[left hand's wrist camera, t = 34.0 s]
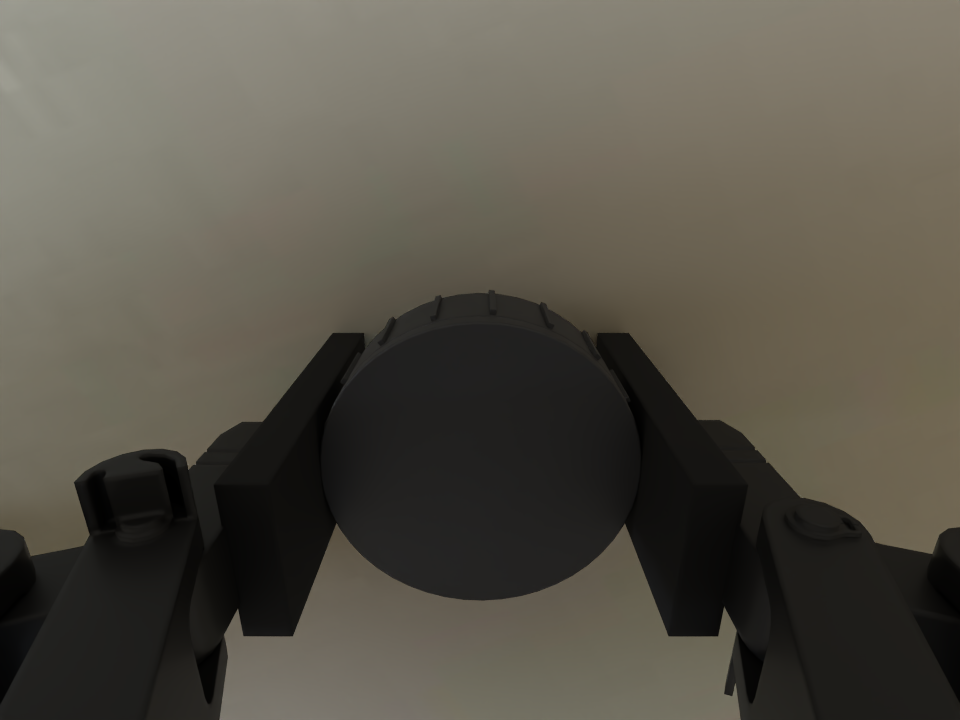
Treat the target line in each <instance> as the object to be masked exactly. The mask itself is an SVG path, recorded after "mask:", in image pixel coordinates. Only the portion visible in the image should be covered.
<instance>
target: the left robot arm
mask: <svg viewBox="0 0 960 720" xmlns="http://www.w3.org/2000/svg"><path fill="white" fill-rule="evenodd" d="M364 350H365V343H364V333H333V334H332V335H331V336H330V337H329V339H328V340H327V341H326V342H325V344H324V345H323V346H322V348H321V349H320V350H319V351H318V353H317V354H316V355H315V356H314V358H313V359H312V360H311V362H310V363H309V364H308V365H307V367H306V368H305V369H304V370H303V372H302V373H301V374H300V375H299V377H298V378H297V379H296V381H295V382H294V383H293V384H292V386H291V387H290V388H289V389H288V391H287V392H286V393H285V395H284V396H283V397H282V398H281V400H280V401H279V402H278V403H277V405H276V406H275V407H274V408H273V410H272V411H271V412H270V414H269V415H268V416H267V417H266V419H265V420H264V421H263V422H241V423H240V424H238V425H236V426H234V427H233V428H231V429H229V430H228V431H226V432H224V433H222V434H221V435H220V436H219V437H218V438H217V439H216V440H215V441H214V442H213V444H212V445H211V446H210V447H209V448H208V449H207V452H204V454H203V455H202V456H201V457H200V458H199V459H198V460H197V461H196V465H193V466H192V467H191V468H190V469H189V470H188V466H187V461H186V457H184V456H183V455H181V454H180V453H179V452H177V451H171V450H166V449H150V450H140V451H136V452H131V453H126V454H122V455H119V456H116V457H114V458H111V459H108V460H105V461H103V462H101V463H99V464H97V465H96V466H94V467H92V468H90V469H88V470H87V471H85V472H84V473H83V474H82V475H81V476H80V477H79V478H78V479H77V480H76V481H75V482H74V484H75V487H76V491H77V494H78V497H79V501H80V504H81V507H82V511H83V514H84V517H85V520H86V524H87V527H88V530H89V534H90V536H89V538H88V539H87V541H86V543H85V545H84V546H81V547H77V548H71V549H66V550H61V551H56V552H51V553H46V554H41V555H35V556H30V553H29V551H28V548H27V545H26V542H25V539H24V537H23V536H21V535H20V534H18V533H17V532H16V531H11V530H2V529H0V720H219V719H220V711H221V704H222V696H223V689H224V681H225V674H226V666H227V659H228V655H227V648H226V642H225V637H224V634H225V632H226V630H227V628H228V626H229V624H230V622H231V620H232V618H233V616H234V615H235V613H236V611H237V609H238V611H239V616H240V621H241V626H242V631H243V636H293V635H294V632H295V629H296V627H297V624H298V622H299V619H300V616H301V614H302V611H303V609H304V606H305V603H306V601H307V598H308V596H309V593H310V590H311V588H312V585H313V583H314V580H315V577H316V575H317V572H318V570H319V567H320V564H321V562H322V559H323V557H324V554H325V551H326V549H327V546H328V544H329V541H330V538H331V536H332V533H333V531H334V528H335V525H336V521H335V519H334V517H333V515H332V513H331V511H330V508H329V506H328V503H327V500H326V498H325V495H324V490H323V485H322V479H321V471H320V448H321V439H322V435H323V431H324V424H325V422H326V420H327V418H328V416H329V413H330V411H331V408H332V406H333V404H334V402H335V400H336V398H337V397H338V395H339V393H340V391H341V390H342V388H343V386H344V384H342V383H340V382H341V380H342V379H343V377H344V375H345V373H346V372H347V370H348V368H349V367H350V365H351V363H352V361H353V360H354V358H355V356H356V355H357V353H358V352H359V353H361V354H362V353H363V352H364ZM597 350H598V352H599V354H600V356H601V358H602V359H603V361H604V362H605V364H606V366H607V368H608V369H609V370H612V369H613V371H614V373H615V374H616V376H617V378H618V379H619V381H620V383H621V384H622V386H623V388H624V390H625V391H626V393H627V395H628V396H629V398H630V401H631V402H629V403H628V406H629V408H630V410H631V412H632V414H633V416H634V419H635V423H636V426H637V429H638V433H639V437H640V445H641V453H642V462H641V476H640V482H639V488H638V492H637V495H636V498H635V501H634V504H633V507H632V510H631V512H630V514H629V516H628V518H627V520H626V522H625V524H626V527H627V529H628V532H629V535H630V537H631V540H632V542H633V545H634V547H635V550H636V553H637V555H638V558H639V560H640V563H641V566H642V568H643V571H644V573H645V576H646V579H647V581H648V584H649V586H650V589H651V592H652V594H653V597H654V599H655V602H656V605H657V607H658V610H659V612H660V615H661V617H662V620H663V623H664V625H665V628H666V630H667V633H668V636H718V634H719V629H720V624H721V619H722V614H723V609H724V607H725V609H726V610H727V612H728V614H729V616H730V618H731V620H732V622H733V624H734V626H735V627H736V629H737V633H736V637H735V642H734V647H733V651H732V656H731V661H730V665H729V670H728V674H727V679H726V685H725V692H724V694H726V695H730V696H732V695H733V690H734V686H735V683H736V687H737V695H738V702H739V710H740V717H741V720H960V527H958V528H949V529H947V530H946V531H944V532H943V533H941V534H940V535H939V538H938V540H937V543H936V546H935V549H934V552H933V554H928V553H923V552H918V551H913V550H908V549H903V548H898V547H892V546H887V545H882V544H878V543H875V542H874V540H873V538H872V536H871V535H870V533H869V532H868V531H867V530H866V529H865V527H864V526H863V525H862V524H861V523H860V522H859V521H858V520H856V519H855V518H853V517H852V516H850V515H849V514H847V513H846V512H844V511H842V510H840V509H837V508H835V507H833V506H830V505H828V504H826V503H823V502H818V501H814V500H810V499H806V498H800V497H799V496H798V494H797V493H796V492H795V491H794V490H793V489H792V488H791V487H790V486H789V485H788V483H787V482H786V481H785V480H784V479H783V478H782V477H781V476H780V475H779V474H778V472H777V471H776V470H775V469H774V468H773V467H772V466H771V465H770V464H769V463H766V459H765V458H764V457H763V456H762V455H761V454H760V453H759V452H758V450H755V447H754V446H753V445H752V444H751V443H750V442H749V440H748V439H747V438H746V437H745V436H744V435H743V434H742V433H741V432H739V431H738V430H736V429H734V428H732V427H731V426H729V425H727V424H725V423H724V422H722V421H720V420H697V419H696V418H695V417H694V415H693V414H692V413H691V412H690V410H689V409H688V408H687V406H686V405H685V404H684V403H683V401H682V400H681V399H680V398H679V396H678V395H677V394H676V393H675V391H674V390H673V389H672V387H671V386H670V385H669V384H668V382H667V381H666V380H665V379H664V377H663V376H662V375H661V374H660V372H659V371H658V370H657V368H656V367H655V366H654V365H653V363H652V362H651V361H650V360H649V358H648V357H647V356H646V355H645V353H644V352H643V351H642V349H641V348H640V347H639V346H638V344H637V343H636V342H635V341H634V339H633V338H632V337H631V336H630V334H629V333H598V336H597Z"/></svg>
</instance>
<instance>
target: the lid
mask: <svg viewBox="0 0 960 720" xmlns="http://www.w3.org/2000/svg"><path fill="white" fill-rule="evenodd" d="M340 383H342V384H344V386H343V388H342V390H341V391H340V393H339V395H338V397H337V398H336V400H335V402H334V404H333V406H332V408H331V411H330V413H329V416H328V418H327V420H326V422H325V424H324V431H323V435H322V439H321V448H320V471H321V479H322V485H323V490H324V495H325V498H326V500H327V503H328V506H329V508H330V511H331V513H332V515H333V517H334V519H335V521H336V523H337V524H338V526H339V528H340V529H341V531H342V532H343V534H344V535H345V536H346V538H347V539H348V540H349V542H350V543H351V544H352V545H353V546H354V547H355V548H356V549H357V550H358V552H359V553H360V554H361V555H362V556H363V557H365V558H366V559H367V560H368V561H369V562H371V563H372V564H373V565H374V566H376V567H377V568H378V569H380V570H381V571H383V572H384V573H386V574H388V575H389V576H391V577H392V578H394V579H396V580H398V581H400V582H402V583H404V584H406V585H408V586H411V587H413V588H416V589H419V590H422V591H424V592H427V593H431V594H435V595H439V596H443V597H449V598H456V599H463V600H497V599H506V598H512V597H518V596H523V595H526V594H530V593H533V592H537V591H540V590H543V589H545V588H548V587H550V586H553V585H555V584H557V583H559V582H561V581H563V580H565V579H567V578H569V577H571V576H573V575H574V574H575V573H577V572H578V571H580V570H581V569H583V568H584V567H586V566H587V565H589V564H590V563H591V562H592V561H593V560H594V559H595V558H597V557H598V556H599V555H600V554H601V553H602V552H603V551H604V550H605V549H606V548H607V546H608V545H609V544H610V543H611V542H612V541H613V540H614V538H615V537H616V536H617V534H618V533H619V531H620V530H621V528H622V527H623V525H624V524H625V522H626V520H627V518H628V516H629V514H630V512H631V510H632V507H633V504H634V501H635V498H636V495H637V492H638V488H639V482H640V476H641V462H642V453H641V445H640V437H639V433H638V429H637V426H636V423H635V419H634V416H633V414H632V412H631V410H630V408H629V406H628V403H629V402H631V401H630V398H629V396H628V395H627V393H626V391H625V390H624V388H623V386H622V384H621V383H620V381H619V379H618V378H617V376H616V374H615V373H614V371H613V369H612V370H609V369H608V368H607V366H606V364H605V362H604V361H603V359H602V358H601V356H600V354H599V352H598V350H597V349H596V347H595V345H594V343H593V342H592V340H591V338H590V336H589V335H588V333H587V332H586V331H585V330H584V331H583V332H580V331H579V330H578V329H577V328H576V327H574V326H573V325H572V324H571V323H570V322H569V321H567V320H565V319H564V318H562V317H561V316H559V315H558V314H556V313H555V312H553V311H551V310H549V309H548V308H547V305H546V304H545V303H542V302H541V304H540V305H538V304H536V303H533V302H530V301H527V300H523V299H520V298H517V297H511V296H506V295H500V294H495V291H494V290H489V294H485V293H474V294H461V295H455V296H450V297H445V298H442V297H441V295H439V296H436V297H435V300H434V301H432V302H429V303H426V304H423V305H421V306H419V307H417V308H415V309H413V310H411V311H409V312H407V313H405V314H403V315H402V316H400V317H399V318H397V319H396V320H395V319H394V317H392V318H391V319H389V321H388V323H387V325H386V327H385V328H384V329H383V330H382V331H381V332H380V333H379V334H378V335H377V336H376V337H375V338H374V339H373V340H372V342H371V343H370V344H369V345H368V346H367V348H366V349H365V350H364V352H363V353H362V354H361V353H359V352H358V353H357V355H356V356H355V358H354V360H353V361H352V363H351V365H350V367H349V368H348V370H347V372H346V373H345V375H344V377H343V379H342V380H341V382H340Z"/></svg>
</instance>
